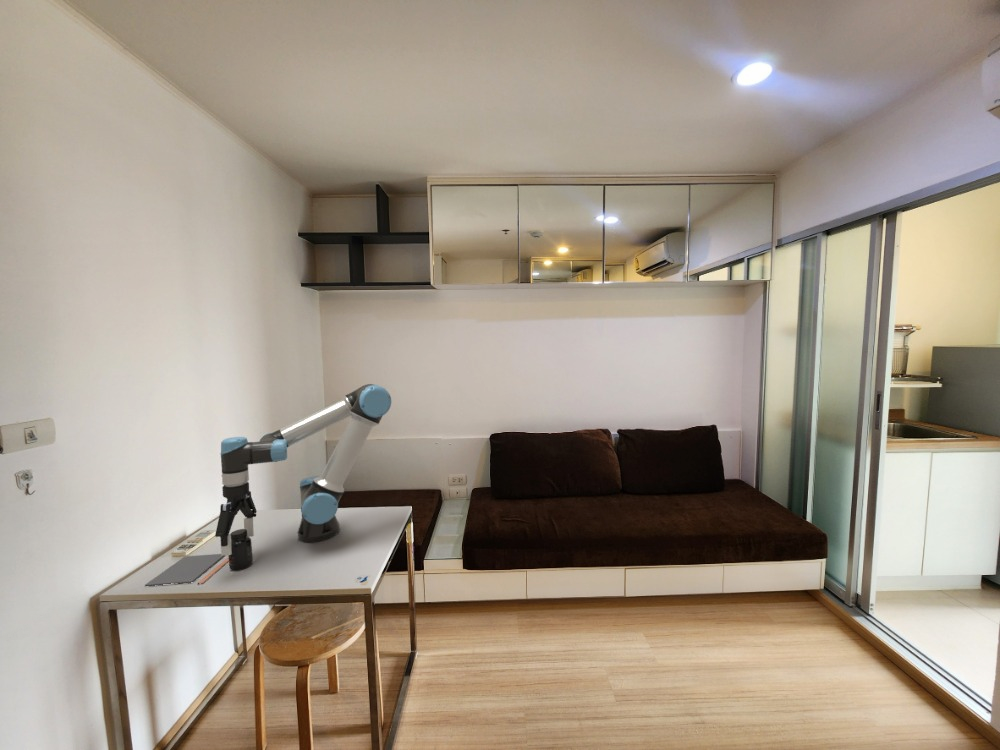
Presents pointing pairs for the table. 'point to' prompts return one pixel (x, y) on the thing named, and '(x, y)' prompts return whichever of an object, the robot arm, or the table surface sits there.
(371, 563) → the table surface
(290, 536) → the table surface
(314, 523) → the robot arm
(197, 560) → the mat
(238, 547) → the supplement bottle
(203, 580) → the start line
